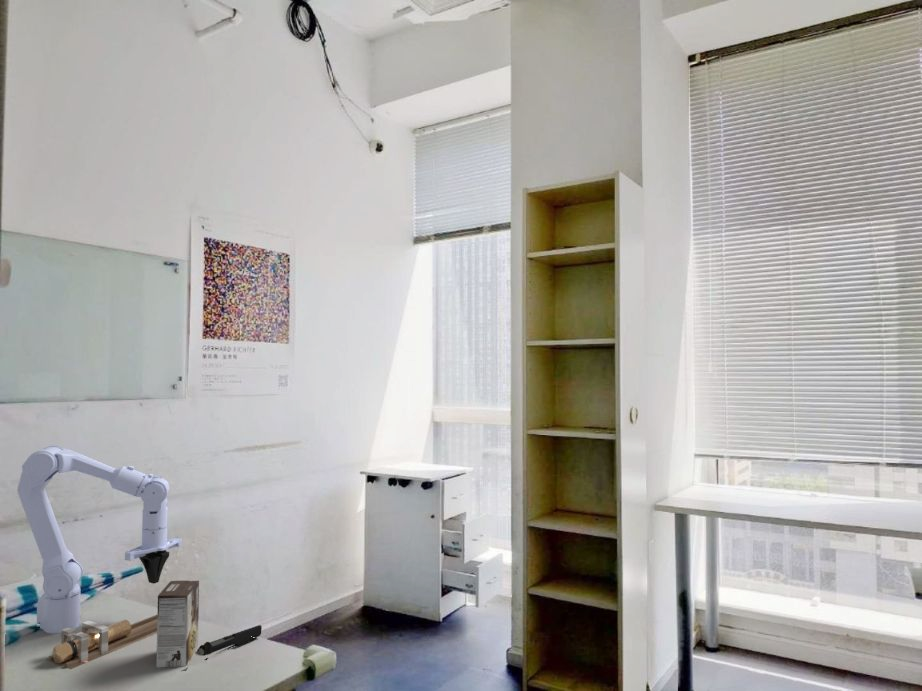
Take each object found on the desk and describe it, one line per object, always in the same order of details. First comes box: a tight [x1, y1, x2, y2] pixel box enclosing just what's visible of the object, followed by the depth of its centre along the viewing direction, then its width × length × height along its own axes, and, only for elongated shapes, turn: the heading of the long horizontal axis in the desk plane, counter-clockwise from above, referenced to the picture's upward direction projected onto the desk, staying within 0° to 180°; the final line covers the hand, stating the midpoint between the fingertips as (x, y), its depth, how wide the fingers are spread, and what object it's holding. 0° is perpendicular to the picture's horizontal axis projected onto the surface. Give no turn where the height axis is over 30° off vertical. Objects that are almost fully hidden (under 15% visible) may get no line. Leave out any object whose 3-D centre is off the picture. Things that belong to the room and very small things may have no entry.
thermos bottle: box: [52, 619, 132, 665], centre depth 144 cm, size 16×4×4 cm, turn 154°
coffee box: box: [155, 580, 200, 672], centre depth 141 cm, size 9×6×16 cm
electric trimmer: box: [196, 624, 263, 661], centre depth 148 cm, size 4×16×3 cm, turn 140°
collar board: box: [45, 614, 157, 670], centre depth 148 cm, size 9×26×6 cm, turn 152°
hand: (153, 582), depth 161 cm, fingers closed
